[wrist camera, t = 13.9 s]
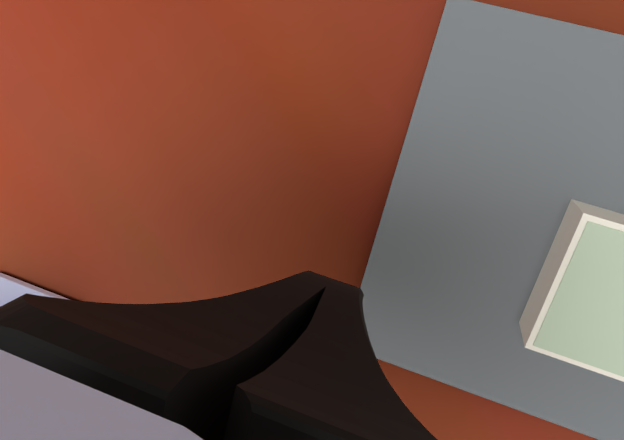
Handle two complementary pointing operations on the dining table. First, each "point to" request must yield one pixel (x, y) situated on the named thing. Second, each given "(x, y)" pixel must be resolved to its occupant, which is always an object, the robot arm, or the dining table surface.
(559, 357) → the block
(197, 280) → the dining table surface
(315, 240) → the dining table surface
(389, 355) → the mat
